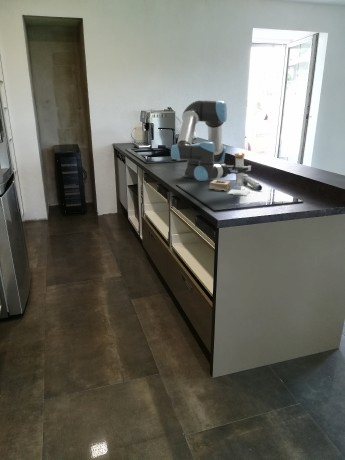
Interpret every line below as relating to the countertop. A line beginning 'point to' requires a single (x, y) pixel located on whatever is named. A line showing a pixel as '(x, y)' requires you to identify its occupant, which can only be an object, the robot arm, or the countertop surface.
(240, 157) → the steel plug
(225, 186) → the bore block
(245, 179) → the toothbrush head
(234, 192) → the rubber mat
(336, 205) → the countertop surface
